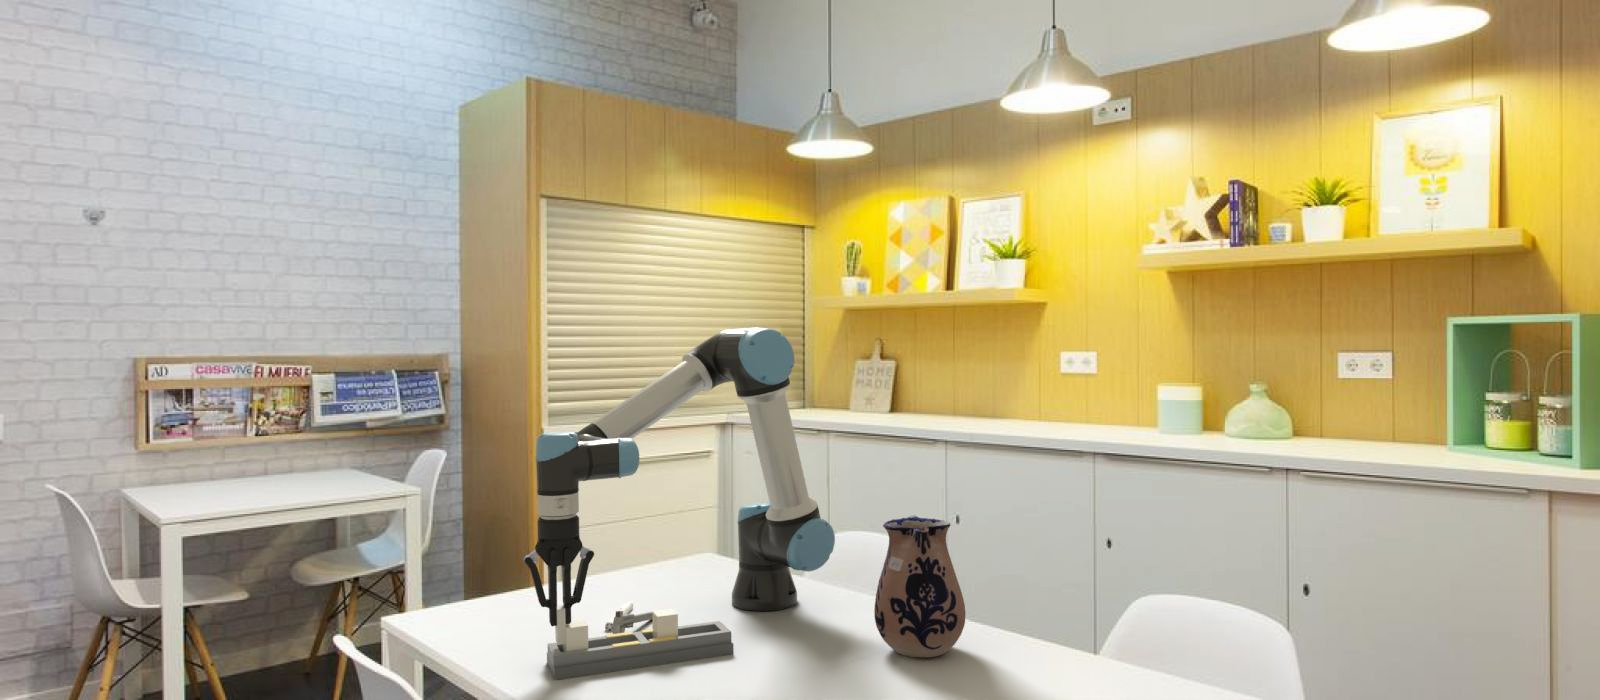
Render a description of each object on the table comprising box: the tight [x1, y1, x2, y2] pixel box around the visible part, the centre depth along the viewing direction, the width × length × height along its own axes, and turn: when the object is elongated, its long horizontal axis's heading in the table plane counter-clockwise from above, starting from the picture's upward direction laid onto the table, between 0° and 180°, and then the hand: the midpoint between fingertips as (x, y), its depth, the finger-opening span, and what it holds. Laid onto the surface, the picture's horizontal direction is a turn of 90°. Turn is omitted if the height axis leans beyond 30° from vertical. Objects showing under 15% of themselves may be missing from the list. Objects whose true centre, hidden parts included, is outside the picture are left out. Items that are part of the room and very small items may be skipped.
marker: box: [604, 600, 634, 631], centre depth 210 cm, size 18×2×2 cm, turn 176°
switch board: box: [546, 620, 735, 681], centre depth 183 cm, size 34×10×4 cm, turn 113°
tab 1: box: [563, 619, 589, 652], centre depth 179 cm, size 4×4×6 cm
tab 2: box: [651, 608, 679, 639], centre depth 185 cm, size 4×4×6 cm
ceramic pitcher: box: [874, 514, 966, 658], centre depth 187 cm, size 18×21×25 cm
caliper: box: [612, 610, 653, 634], centre depth 203 cm, size 20×1×6 cm, turn 162°
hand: (560, 641), depth 178 cm, fingers closed
